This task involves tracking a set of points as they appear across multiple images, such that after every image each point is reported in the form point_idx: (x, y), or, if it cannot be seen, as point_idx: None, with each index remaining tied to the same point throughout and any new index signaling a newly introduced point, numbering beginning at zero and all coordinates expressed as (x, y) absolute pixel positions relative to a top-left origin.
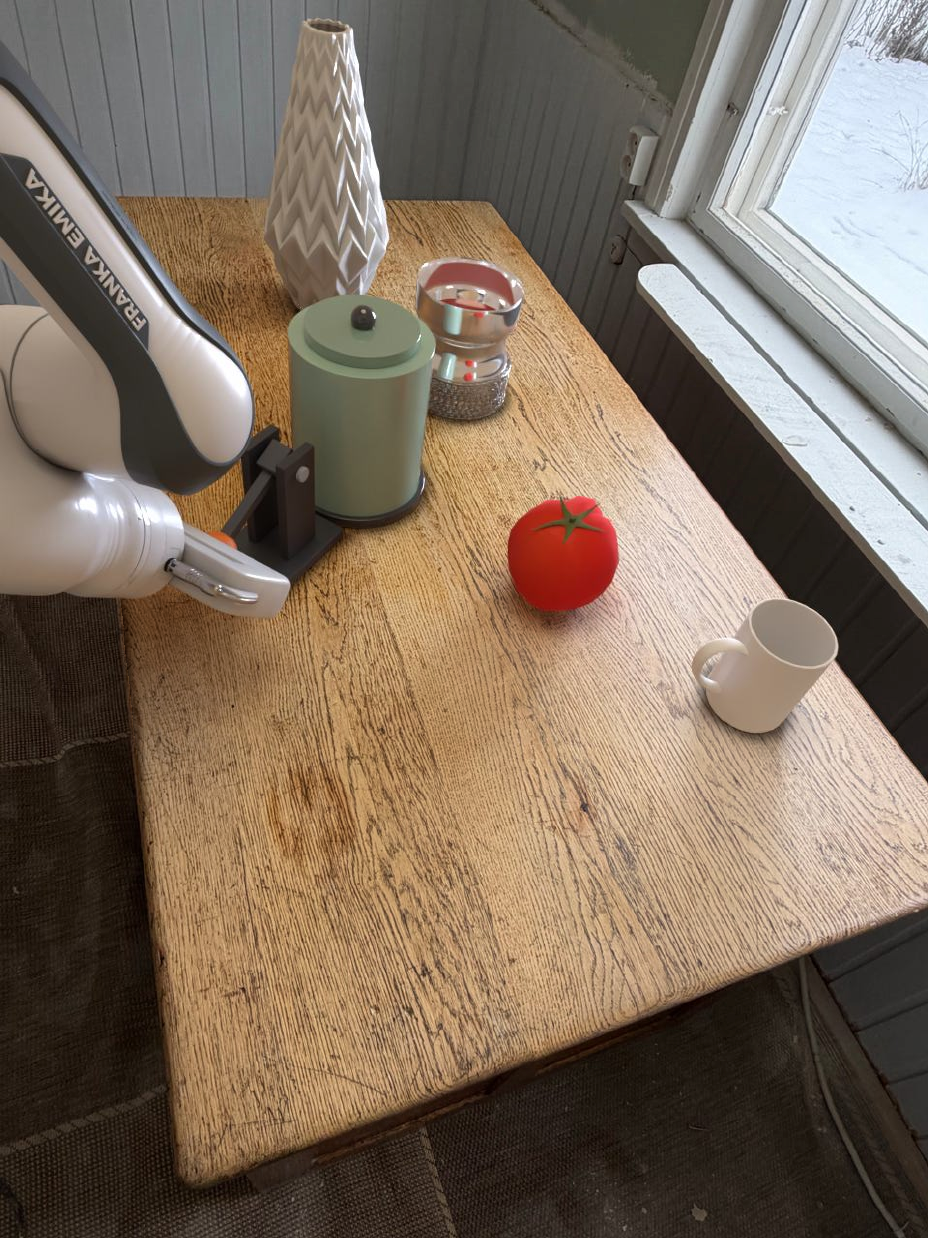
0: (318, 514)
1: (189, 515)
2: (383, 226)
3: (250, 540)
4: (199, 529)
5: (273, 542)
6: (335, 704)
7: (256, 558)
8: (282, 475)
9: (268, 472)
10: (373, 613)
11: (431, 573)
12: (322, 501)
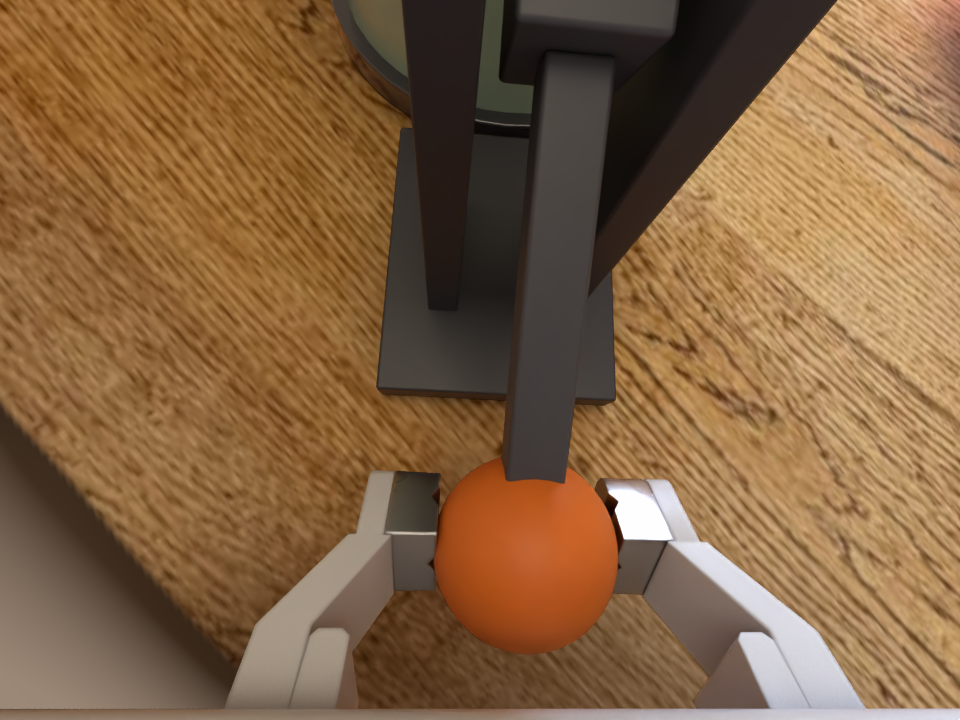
0: (515, 134)
1: (207, 308)
2: None
3: (435, 309)
4: (373, 474)
5: (492, 281)
6: (945, 642)
7: (493, 357)
8: (796, 29)
9: (586, 56)
10: (813, 336)
11: (827, 161)
12: (523, 92)
